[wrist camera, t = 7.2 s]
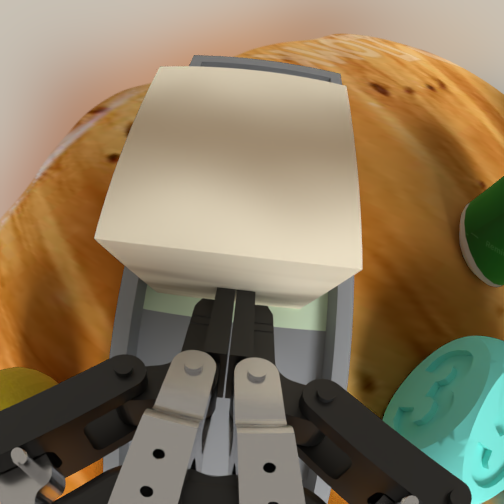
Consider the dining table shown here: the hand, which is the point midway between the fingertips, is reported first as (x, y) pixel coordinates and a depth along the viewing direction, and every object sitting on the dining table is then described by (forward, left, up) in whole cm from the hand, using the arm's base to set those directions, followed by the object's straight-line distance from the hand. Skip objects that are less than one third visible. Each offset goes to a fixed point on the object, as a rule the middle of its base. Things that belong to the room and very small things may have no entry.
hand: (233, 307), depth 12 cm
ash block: (0, -4, -2) cm, 5 cm away
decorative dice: (-13, +8, -6) cm, 16 cm away
